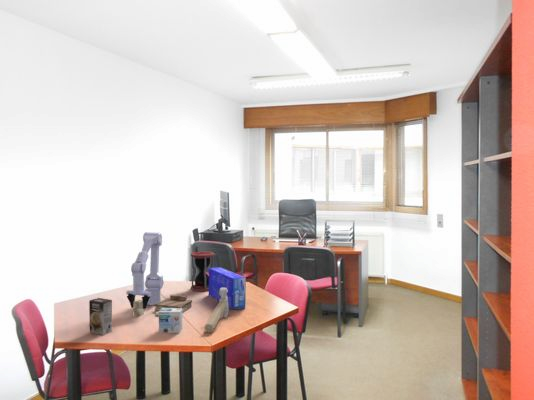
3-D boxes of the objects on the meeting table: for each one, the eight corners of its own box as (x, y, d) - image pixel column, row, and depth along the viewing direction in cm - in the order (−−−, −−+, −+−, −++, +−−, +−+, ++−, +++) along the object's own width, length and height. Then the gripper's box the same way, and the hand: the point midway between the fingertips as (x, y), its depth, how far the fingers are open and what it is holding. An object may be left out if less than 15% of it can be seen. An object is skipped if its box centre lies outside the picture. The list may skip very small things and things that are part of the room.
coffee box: (88, 332, 217) (88, 300, 216) (98, 328, 223) (98, 297, 222) (103, 335, 213) (102, 302, 213) (112, 331, 219) (112, 299, 218)
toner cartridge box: (246, 308, 260) (246, 277, 260) (233, 310, 256) (233, 279, 256) (220, 293, 294) (220, 266, 294) (208, 295, 290) (208, 267, 289)
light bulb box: (158, 333, 217) (158, 311, 216) (161, 328, 224) (161, 307, 223) (180, 333, 217) (180, 311, 216) (182, 328, 224) (182, 307, 223)
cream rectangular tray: (148, 314, 247) (148, 309, 247) (167, 304, 267) (167, 299, 267) (174, 317, 242) (174, 311, 242) (191, 307, 262) (191, 302, 262)
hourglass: (210, 285, 318) (210, 250, 317) (217, 290, 303) (217, 254, 302) (188, 287, 311) (188, 252, 310) (194, 292, 296) (194, 255, 295)
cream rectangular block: (133, 315, 245) (133, 301, 244) (137, 313, 249) (137, 299, 248) (139, 316, 244) (139, 302, 243) (143, 314, 247) (143, 300, 247)
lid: (154, 306, 253) (154, 300, 253) (167, 299, 267) (167, 293, 267) (180, 308, 248) (180, 302, 248) (192, 301, 262) (192, 296, 262)
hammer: (212, 315, 215) (228, 287, 243) (203, 314, 216) (220, 286, 244) (214, 343, 219) (230, 312, 247) (205, 342, 220) (222, 312, 248)
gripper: (123, 284, 244) (123, 308, 244) (146, 286, 240) (146, 311, 240) (130, 281, 250) (130, 305, 251) (153, 283, 246) (153, 307, 247)
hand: (138, 308), depth 246 cm, fingers open, 7 cm apart
